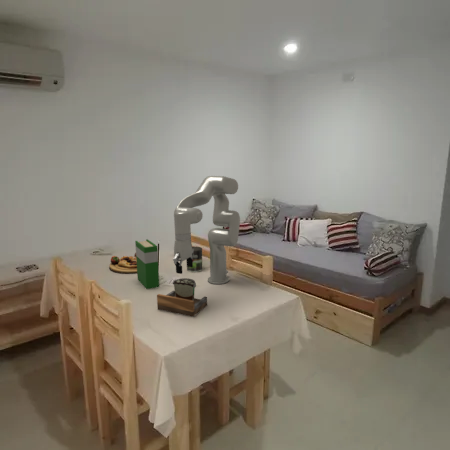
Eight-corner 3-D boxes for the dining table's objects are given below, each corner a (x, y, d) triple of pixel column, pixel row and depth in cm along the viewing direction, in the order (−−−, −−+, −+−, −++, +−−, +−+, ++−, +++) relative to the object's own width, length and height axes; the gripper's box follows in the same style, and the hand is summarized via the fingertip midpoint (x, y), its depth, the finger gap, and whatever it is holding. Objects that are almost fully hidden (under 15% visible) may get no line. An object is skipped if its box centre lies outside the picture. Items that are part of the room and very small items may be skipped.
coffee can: (200, 272, 228) (199, 251, 225) (184, 271, 231) (183, 250, 228) (204, 267, 238) (204, 246, 235) (189, 266, 240) (189, 246, 237)
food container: (200, 298, 183) (200, 279, 181) (195, 303, 177) (194, 283, 175) (179, 294, 187) (178, 276, 185) (173, 299, 182) (172, 280, 180)
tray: (173, 298, 189) (172, 285, 188) (207, 305, 181) (206, 291, 179) (157, 309, 177) (156, 294, 175) (193, 316, 168) (192, 301, 167)
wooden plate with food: (100, 273, 230) (99, 260, 229) (122, 257, 261) (122, 246, 259) (147, 276, 225) (147, 264, 223) (165, 260, 255) (164, 249, 254)
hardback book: (137, 279, 217) (135, 240, 212) (149, 277, 221) (147, 239, 216) (146, 289, 202) (144, 247, 197) (159, 286, 206) (157, 246, 201)
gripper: (185, 231, 183) (187, 263, 187) (166, 240, 168) (168, 274, 172) (198, 232, 180) (199, 265, 184) (180, 241, 164) (181, 277, 168)
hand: (184, 270), depth 178 cm, fingers open, 9 cm apart
